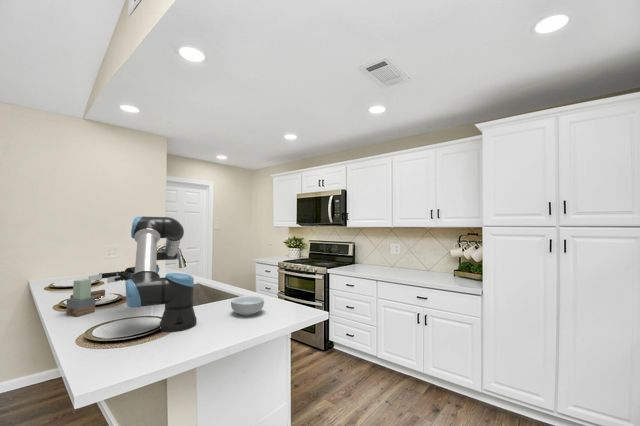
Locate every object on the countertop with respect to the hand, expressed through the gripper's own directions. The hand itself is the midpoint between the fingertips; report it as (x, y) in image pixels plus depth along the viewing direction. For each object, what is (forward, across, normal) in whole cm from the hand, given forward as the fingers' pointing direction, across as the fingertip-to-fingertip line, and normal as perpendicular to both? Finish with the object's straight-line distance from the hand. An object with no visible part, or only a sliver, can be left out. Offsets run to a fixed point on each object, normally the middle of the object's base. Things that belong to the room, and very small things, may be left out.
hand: (98, 279), depth 152 cm
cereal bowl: (-21, -78, -16) cm, 82 cm away
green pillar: (+8, 0, -8) cm, 11 cm away
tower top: (+8, 0, -12) cm, 14 cm away
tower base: (+8, 0, -16) cm, 18 cm away
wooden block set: (-11, +18, -16) cm, 27 cm away
